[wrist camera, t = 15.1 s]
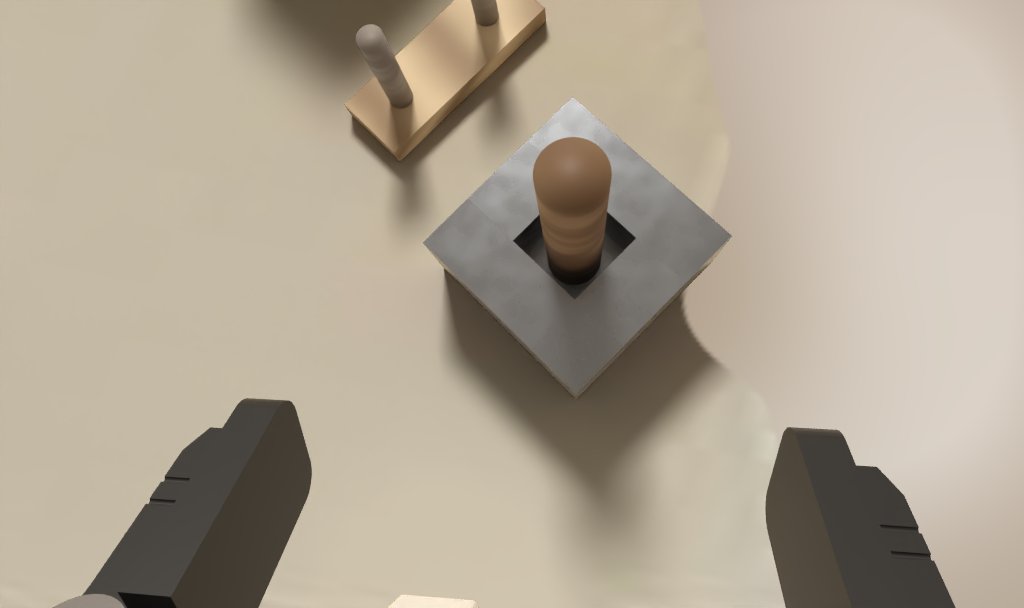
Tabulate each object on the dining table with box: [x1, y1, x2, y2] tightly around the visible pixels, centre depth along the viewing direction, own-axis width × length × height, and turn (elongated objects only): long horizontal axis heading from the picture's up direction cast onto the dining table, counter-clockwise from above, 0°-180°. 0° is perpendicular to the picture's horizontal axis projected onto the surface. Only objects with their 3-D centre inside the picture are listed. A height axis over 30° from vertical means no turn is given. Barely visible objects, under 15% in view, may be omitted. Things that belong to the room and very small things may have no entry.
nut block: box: [423, 97, 732, 399], centre depth 40 cm, size 12×12×6 cm
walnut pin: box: [533, 137, 612, 285], centre depth 34 cm, size 3×3×14 cm
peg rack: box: [345, 0, 546, 161], centre depth 42 cm, size 14×5×8 cm, turn 134°
